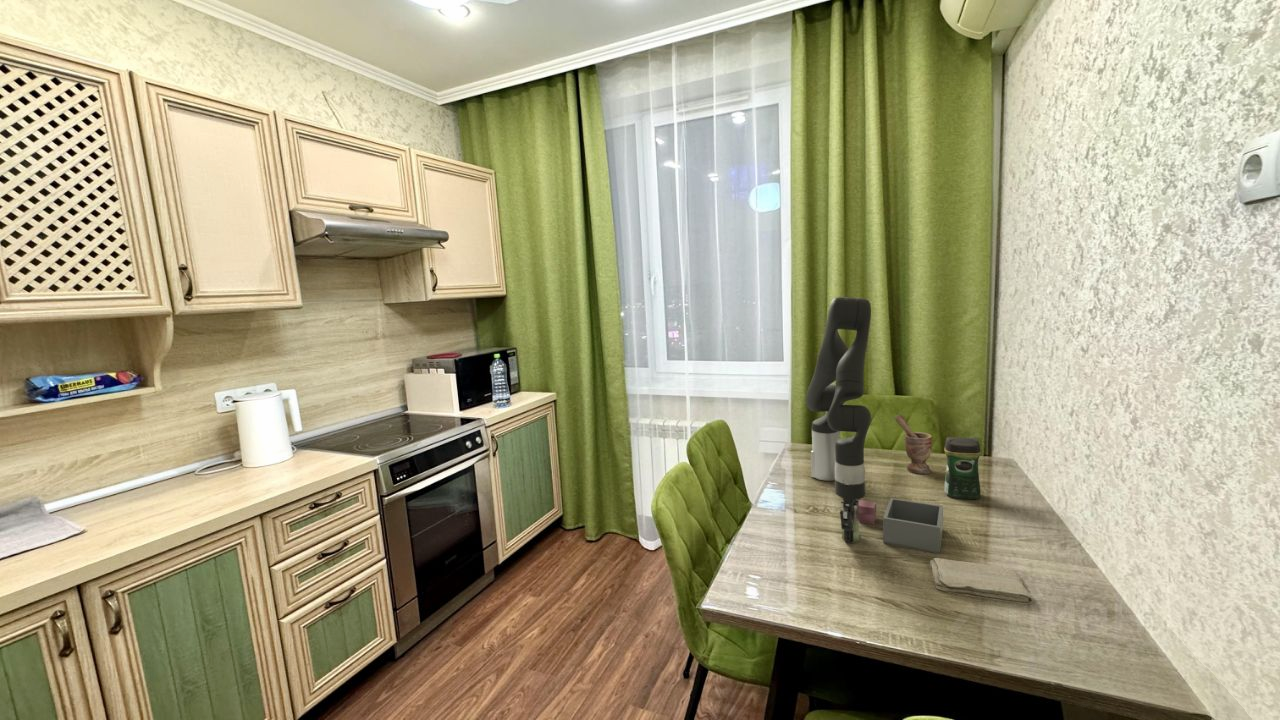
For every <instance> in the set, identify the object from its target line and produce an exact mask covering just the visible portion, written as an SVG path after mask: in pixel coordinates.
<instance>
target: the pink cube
mask: <svg viewBox="0 0 1280 720" xmlns="http://www.w3.org/2000/svg"><path fill="white" fill-rule="evenodd" d="M876 520H877V502H876V501H870V500H865V499H859V516H858V521H859V523H864V524H867V525H868V524H869V525H874V524H875V522H876Z"/></svg>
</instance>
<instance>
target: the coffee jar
mask: <svg viewBox="0 0 1280 720" xmlns="http://www.w3.org/2000/svg"><path fill="white" fill-rule="evenodd" d="M980 445H981V443H980V441H979V440H978V439H977V438H976V437H960V436H959V437H956V436H953V437H952V436H948V437H946V439H945V444H944V454H945V456H946V467H945V468H946V469H945V478H944V488H943V490H944V493H945V494H946V495H947V496H948V497H950V498H954V499H963V500H978V499H980V497H981V496H982V495H981V494H982V493H981V492H982V491H981V484H980V483H981V482H980V476H979V475H980V474H979V459H980V457H981V455H982V451H981V446H980Z"/></svg>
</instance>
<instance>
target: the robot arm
mask: <svg viewBox="0 0 1280 720" xmlns="http://www.w3.org/2000/svg"><path fill="white" fill-rule="evenodd" d="M871 317H872V306H871V303H870V301H869V300H868V299H866V298H860V297H859V298H858V297H845V296H838V297H834V298H833V299H832V300H831V302H830V304H829V307H828V311H827V317H826V324H825V327H824V328H825V330H824V335H823V339H822V342H821V346H820V349H819V352H818V354H817V358H816V359H817V360H816V365H815V368H814V372H813V376H812V378H811V381H810V383H809V385H808V388H807V391H806V396H805V403H806V407H807V409H808V410H809V411H811V412H815V413H818V412H820V413H822V412H826V413H825V414H824V415H822V416H821V417H818V418H817V419H815V420H813V421H812V422H811V438H812V439H811V446H812V450H810V473H811V476H810V477H811V478H814V479H817V480H820V481H825V482H826V481H827V482H831V481H834V492H835V495H837V496H838V497H839V498H841V499H842V501H840V502H841V503H840V508H841V510H840V511H839V514H840V525H841V527H840V528H841V530H842V529H844V540H843V541H844V542H847V543H851V544H852V543H854V542H853V529H854V521H855V520H856V519H857V520H858V516H859V500H862V499H863V498H864V497H865V496H866V469H865V456H864V455H865V453H864V452H865V444H866V443H865V442H866V437H867V434H868V432H869V431H868V430H869V428H870V425H871V423H872V422H871V421H872V414H871V412H870V410H869V407H867V406H865V405H861V404H859V405H857V404H845V403H846V402H849V401H852V400H857V399H861V398H862V397H863V395H864V391H865V389H864V387H865V384H864V383H865V380H864V379H865V361H866V354H867V348H868V343H869V333H870V327H871ZM839 330H845V331H856V335H855V339H854V340H853V343H852V344H851V345H850V347H849V348H848V346H847V345H846V343H845V342H844V339H842V337H841V336H840V333H839ZM834 382H835V384H833V383H834ZM840 432H849V433H850V432H851V433H855V434H853V436H851V437H843V438H840ZM848 524H849V525H848Z"/></svg>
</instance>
